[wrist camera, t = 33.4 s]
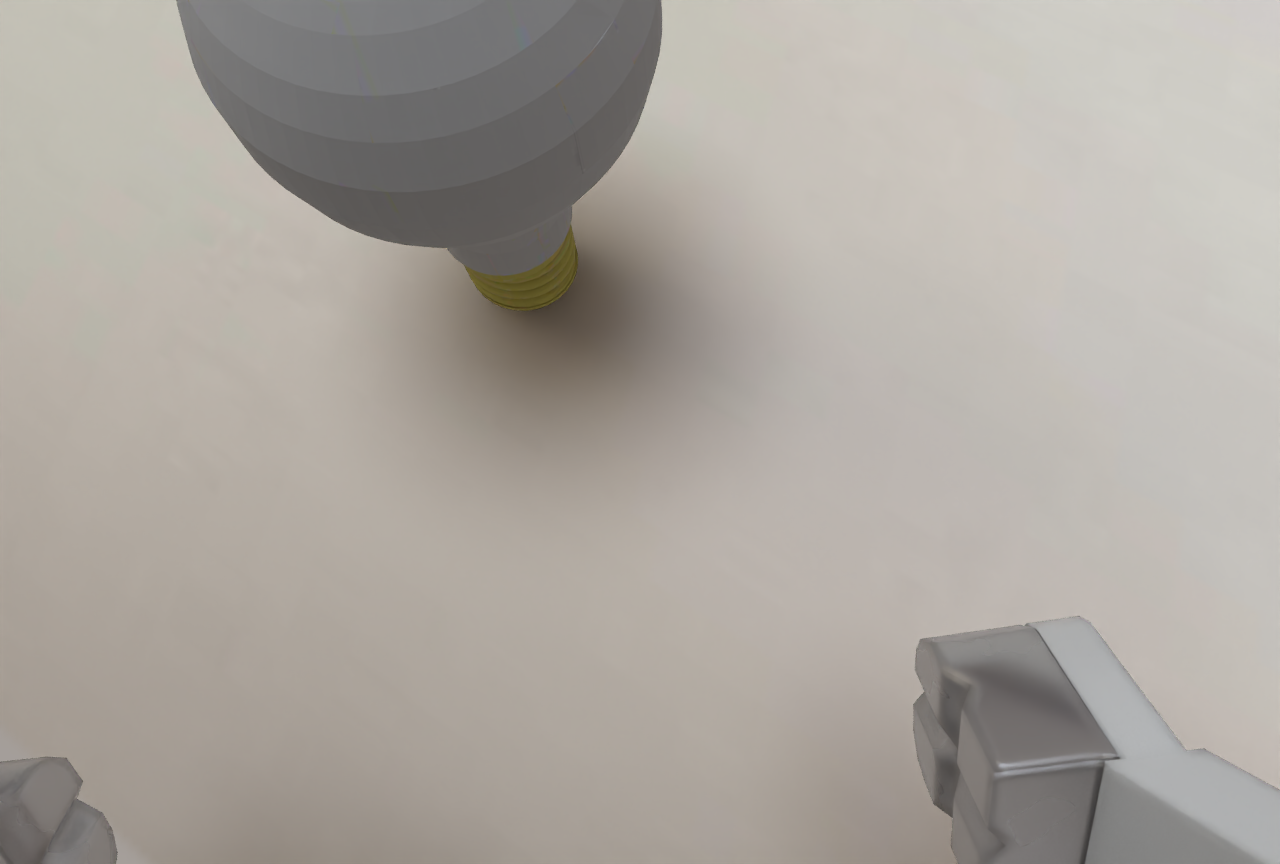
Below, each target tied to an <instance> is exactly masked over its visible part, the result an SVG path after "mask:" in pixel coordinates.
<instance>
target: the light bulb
mask: <svg viewBox="0 0 1280 864" xmlns="http://www.w3.org/2000/svg"><path fill="white" fill-rule="evenodd" d="M177 6H178V10H179V13H180V17H181V21H182V25H183V29H184V32H185V36H186V40H187V44H188V48H189V51H190V55H191V58H192V61H193V64H194V68H195V70H196V72H197V75H198V77H199V79H200V81H201V84H202V86H203V88H204V89H205V91H206V93H207V94H208V96H209V98H210V99H211V101H212V103H213V104H214V106H215V107H216V108H217V110H218V111H219V113H220V114H221V115H222V117H223V118H224V119H225V121H226V122H227V123H228V125H229V126H230V128H231V129H232V130H233V132H234V133H235V134H236V136H237V137H238V139H239V140H240V141H241V143H242V144H243V145H244V147H245V148H246V149H247V151H248V152H249V153H250V154H251V156H252V157H253V158H254V160H255V161H256V162H257V163H258V164H259V165H260V166H261V167H262V168H263V169H264V170H265V171H266V172H267V173H268V174H269V175H270V176H271V177H272V178H273V179H274V180H276V181H277V182H278V183H279V184H280V185H282V186H283V187H284V188H285V189H287V190H288V191H290V192H291V193H293V194H294V195H296V196H297V197H299V198H300V199H302V200H304V201H305V202H307V203H308V204H310V205H311V206H313V207H314V208H316V209H317V210H319V211H320V212H322V213H323V214H325V215H326V216H328V217H329V218H331V219H332V220H334V221H336V222H338V223H340V224H342V225H344V226H346V227H347V228H349V229H352V230H354V231H357V232H359V233H362V234H364V235H367V236H370V237H374V238H377V239H381V240H384V241H388V242H393V243H399V244H404V245H412V246H423V247H437V248H447V249H448V250H449V251H450V253H451V254H452V255H453V256H454V257H455V258H456V259H457V260H458V261H459V262H461V263H462V264H464V266H465V268H466V270H467V272H468V274H469V276H470V278H471V280H472V281H473V283H474V284H475V286H476V288H477V289H478V290H479V291H480V292H481V294H482V295H483V296H484V297H486V298H487V299H488V300H490V301H491V302H492V303H494V304H496V305H499V306H501V307H503V308H507V309H511V310H519V311H528V310H534V309H539V308H542V307H544V306H547V305H549V304H551V303H552V302H554V301H556V300H557V299H559V298H560V297H561V296H562V295H563V294H564V293H565V292H566V291H567V290H568V288H569V287H570V285H571V284H572V282H573V280H574V277H575V275H576V272H577V266H578V253H577V249H576V246H575V241H574V236H573V232H572V227H571V218H572V205H573V204H574V203H575V202H576V201H577V200H578V199H580V198H581V197H582V196H583V195H584V194H585V193H586V192H587V191H589V190H590V189H591V188H592V187H593V186H594V185H595V184H596V183H597V182H598V181H599V180H600V179H601V178H602V177H603V176H604V175H605V174H606V172H607V171H608V170H609V169H610V168H611V166H612V165H613V164H614V163H615V161H616V160H617V159H618V157H619V156H620V155H621V153H622V152H623V150H624V148H625V147H626V145H627V144H628V142H629V140H630V138H631V136H632V134H633V132H634V130H635V128H636V126H637V124H638V122H639V119H640V116H641V113H642V111H643V108H644V105H645V102H646V99H647V95H648V92H649V89H650V86H651V83H652V79H653V76H654V73H655V69H656V65H657V61H658V57H659V52H660V45H661V37H662V6H661V0H177Z"/></svg>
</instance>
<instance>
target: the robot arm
mask: <svg viewBox="0 0 1280 864" xmlns="http://www.w3.org/2000/svg"><path fill="white" fill-rule="evenodd" d="M915 671H916V674H917V676H918V678H919V680H920V683H921V685H922V687H923V689H924V693H923V694H922V695H921V696H920V697H919V698H918V699H917V701H916V702H915V703H914V704H913V731H914V738H915V744H916V751H917V757H918V761H919V764H920V768H921V771H922V775H923V778H924V781H925V784H926V786H927V789H928V791H929V794H930V796H931V799H932V801H933V804H934V805H936V806H937V807H938V808H940V809H941V810H942V811H944V812H945V813H946V814H948V815H949V816H951V817H952V818H953V820H952V835H951V848H952V850H953V853H954V855H955V858H956V860H957V862H958V864H1280V790H1279V789H1277V788H1275V787H1273V786H1271V785H1270V784H1268V783H1266V782H1264V781H1262V780H1261V779H1259V778H1257V777H1255V776H1253V775H1251V774H1250V773H1248V772H1246V771H1244V770H1242V769H1240V768H1239V767H1237V766H1235V765H1233V764H1231V763H1230V762H1228V761H1226V760H1224V759H1222V758H1220V757H1219V756H1217V755H1215V754H1213V753H1211V752H1209V751H1208V750H1206V749H1195V750H1186V749H1185V748H1184V746H1183V745H1182V744H1181V742H1180V741H1179V740H1178V738H1177V737H1176V736H1175V734H1174V733H1173V732H1172V730H1171V729H1170V728H1169V726H1168V725H1167V724H1166V722H1165V721H1164V720H1163V718H1162V717H1161V716H1160V714H1159V713H1158V712H1157V710H1156V709H1155V708H1154V706H1153V705H1152V704H1151V702H1150V701H1149V700H1148V698H1147V697H1146V696H1145V694H1144V693H1143V692H1142V690H1141V689H1140V688H1139V686H1138V685H1137V684H1136V682H1135V681H1134V680H1133V678H1132V677H1131V676H1130V674H1129V673H1128V672H1127V670H1126V669H1125V668H1124V666H1123V665H1122V664H1121V662H1120V661H1119V660H1118V658H1117V657H1116V656H1115V654H1114V653H1113V652H1112V650H1111V649H1110V648H1109V646H1108V645H1107V644H1106V642H1105V641H1104V640H1103V638H1102V637H1101V636H1100V634H1099V633H1098V632H1097V630H1096V629H1095V628H1094V627H1093V625H1092V624H1091V623H1090V622H1089V621H1087V620H1085V619H1084V618H1082V617H1080V616H1076V617H1069V618H1062V619H1055V620H1048V621H1041V622H1034V623H1028V624H1026V625H1024V626H1023V625H1015V626H1008V627H1001V628H994V629H987V630H980V631H973V632H966V633H959V634H952V635H945V636H938V637H931V638H924V639H920V641H919V644H918V646H917V649H916V660H915ZM82 783H83V780H82V779H81V778H80V776H79V775H78V773H77V772H76V771H75V769H74V768H73V766H72V765H71V763H70V762H69V761H68V759H67V758H61V757H40V758H31V759H22V760H12V761H3V762H0V864H116V860H117V848H116V843H115V839H114V834H113V830H112V828H111V826H110V825H109V823H108V821H107V820H106V818H105V816H104V814H103V813H102V812H100V811H98V810H97V809H95V808H93V807H91V806H89V805H87V804H85V803H84V802H82V801H80V800H78V799H77V797H78V794H79V791H80V789H81V786H82Z"/></svg>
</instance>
